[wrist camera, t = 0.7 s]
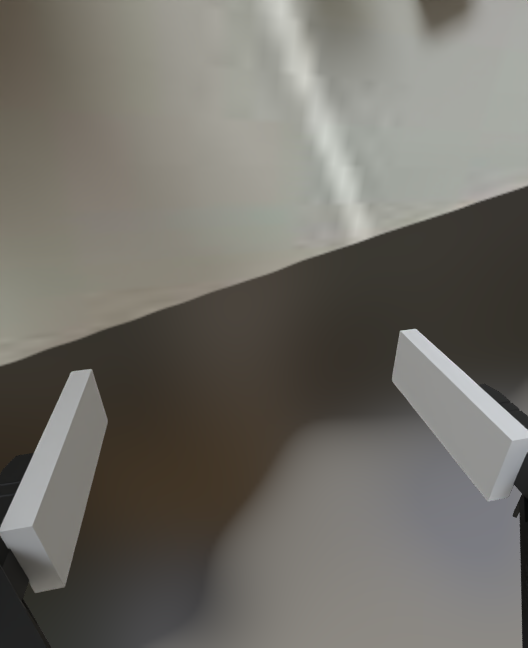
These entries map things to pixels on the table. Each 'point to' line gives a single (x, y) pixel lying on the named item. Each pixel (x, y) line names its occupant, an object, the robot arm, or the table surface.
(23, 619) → the robot arm
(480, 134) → the table surface
